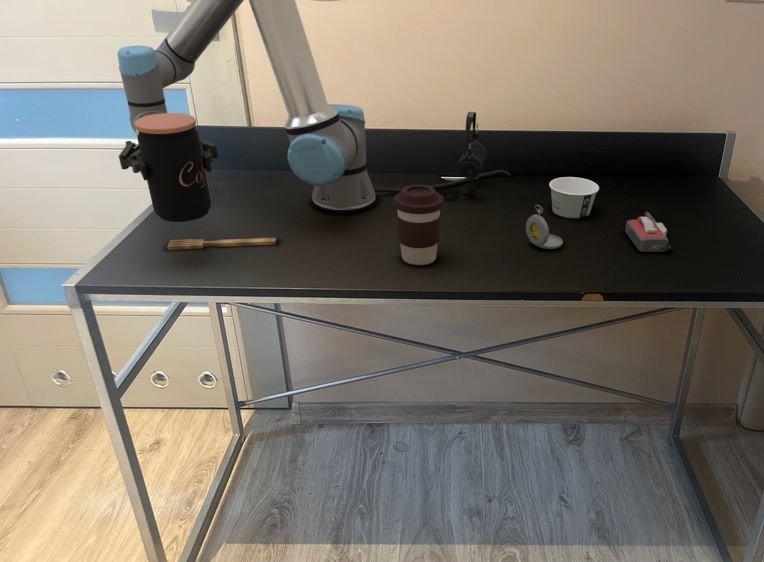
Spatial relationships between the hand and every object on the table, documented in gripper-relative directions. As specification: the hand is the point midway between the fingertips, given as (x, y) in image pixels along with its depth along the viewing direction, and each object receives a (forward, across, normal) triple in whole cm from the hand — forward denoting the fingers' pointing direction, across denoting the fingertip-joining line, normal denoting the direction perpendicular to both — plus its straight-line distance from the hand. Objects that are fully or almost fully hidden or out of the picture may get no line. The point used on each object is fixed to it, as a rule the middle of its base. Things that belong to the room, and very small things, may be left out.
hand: (177, 169), depth 130 cm
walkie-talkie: (+27, -94, -20) cm, 100 cm away
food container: (+8, -88, -20) cm, 90 cm away
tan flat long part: (-8, -7, -20) cm, 22 cm away
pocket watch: (+22, -70, -20) cm, 76 cm away
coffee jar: (-4, 0, -10) cm, 11 cm away
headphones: (-15, -69, -20) cm, 73 cm away
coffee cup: (+16, -42, -20) cm, 49 cm away
